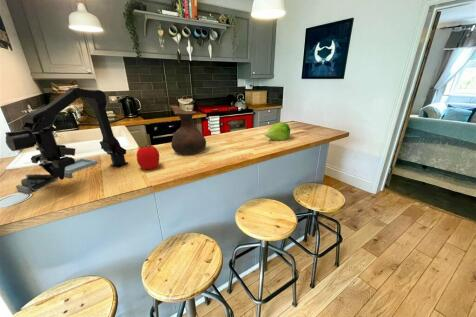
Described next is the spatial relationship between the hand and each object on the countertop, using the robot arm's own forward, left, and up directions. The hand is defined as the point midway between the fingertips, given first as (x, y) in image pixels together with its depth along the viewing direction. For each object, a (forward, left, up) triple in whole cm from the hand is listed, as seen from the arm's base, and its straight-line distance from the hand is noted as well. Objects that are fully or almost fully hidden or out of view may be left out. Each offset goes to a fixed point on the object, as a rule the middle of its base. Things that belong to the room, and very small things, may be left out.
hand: (59, 178), depth 87 cm
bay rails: (+11, 0, -5) cm, 12 cm away
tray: (+19, -18, -5) cm, 27 cm away
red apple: (-20, -31, -5) cm, 37 cm away
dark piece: (+12, -2, -7) cm, 14 cm away
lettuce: (-75, -103, -5) cm, 128 cm away
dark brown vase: (-26, -60, -5) cm, 66 cm away
